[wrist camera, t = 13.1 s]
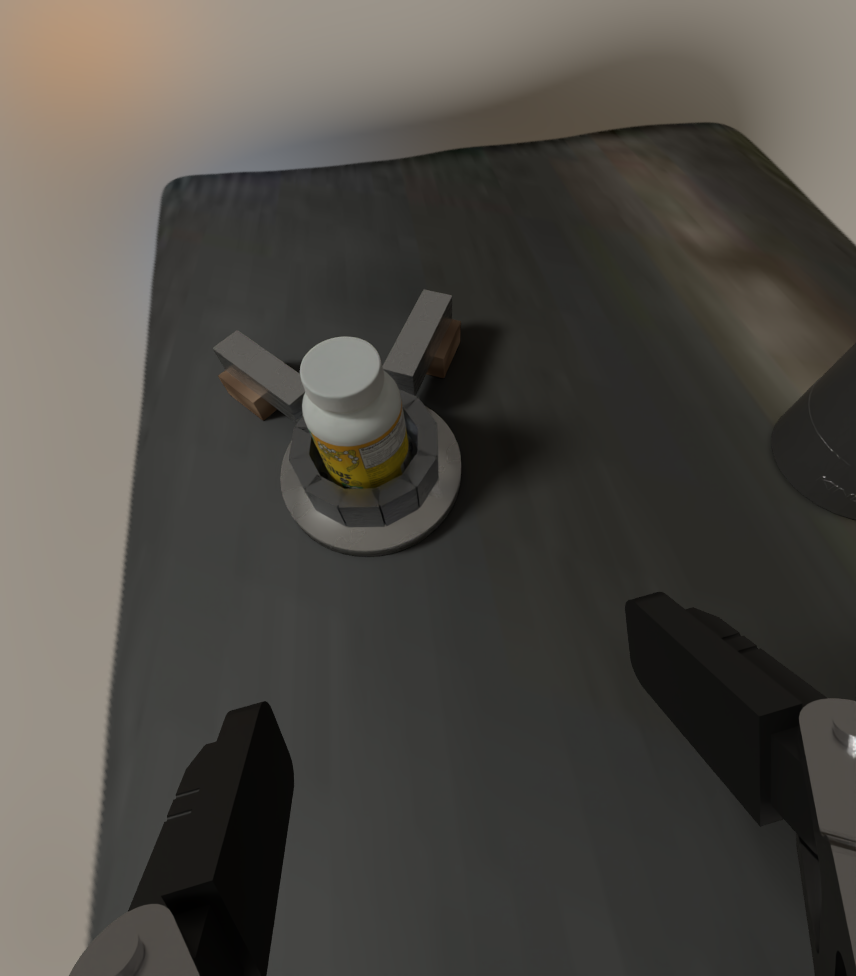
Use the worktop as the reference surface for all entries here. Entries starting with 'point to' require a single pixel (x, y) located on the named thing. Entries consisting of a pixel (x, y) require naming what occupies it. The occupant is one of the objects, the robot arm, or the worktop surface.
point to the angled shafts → (401, 364)
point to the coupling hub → (376, 490)
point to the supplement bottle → (354, 413)
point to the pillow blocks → (266, 409)
